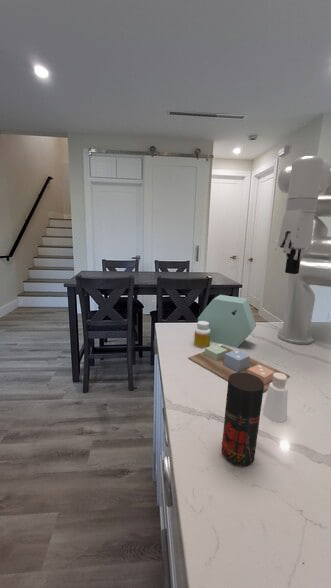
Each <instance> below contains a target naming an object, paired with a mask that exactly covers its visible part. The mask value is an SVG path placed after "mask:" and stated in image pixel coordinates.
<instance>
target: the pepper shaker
mask: <svg viewBox="0 0 331 588" xmlns="http://www.w3.org/2000/svg"><path fill="white" fill-rule="evenodd" d="M287 380H288V378H287V376H286V375H284V374H282V373H274V374H273V382H271V383H270V384H269V387H268V390H267V391H266V395H265V400H264V403H263V407H262V415H263V416H264V417H265V418H267V419H268V420H269V421H271V422H275V423H283V422H285V421H287V419H288V418H287V417H288V415H287V414H288V393H289V392H288V386H287V385H286V384H287Z"/></svg>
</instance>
